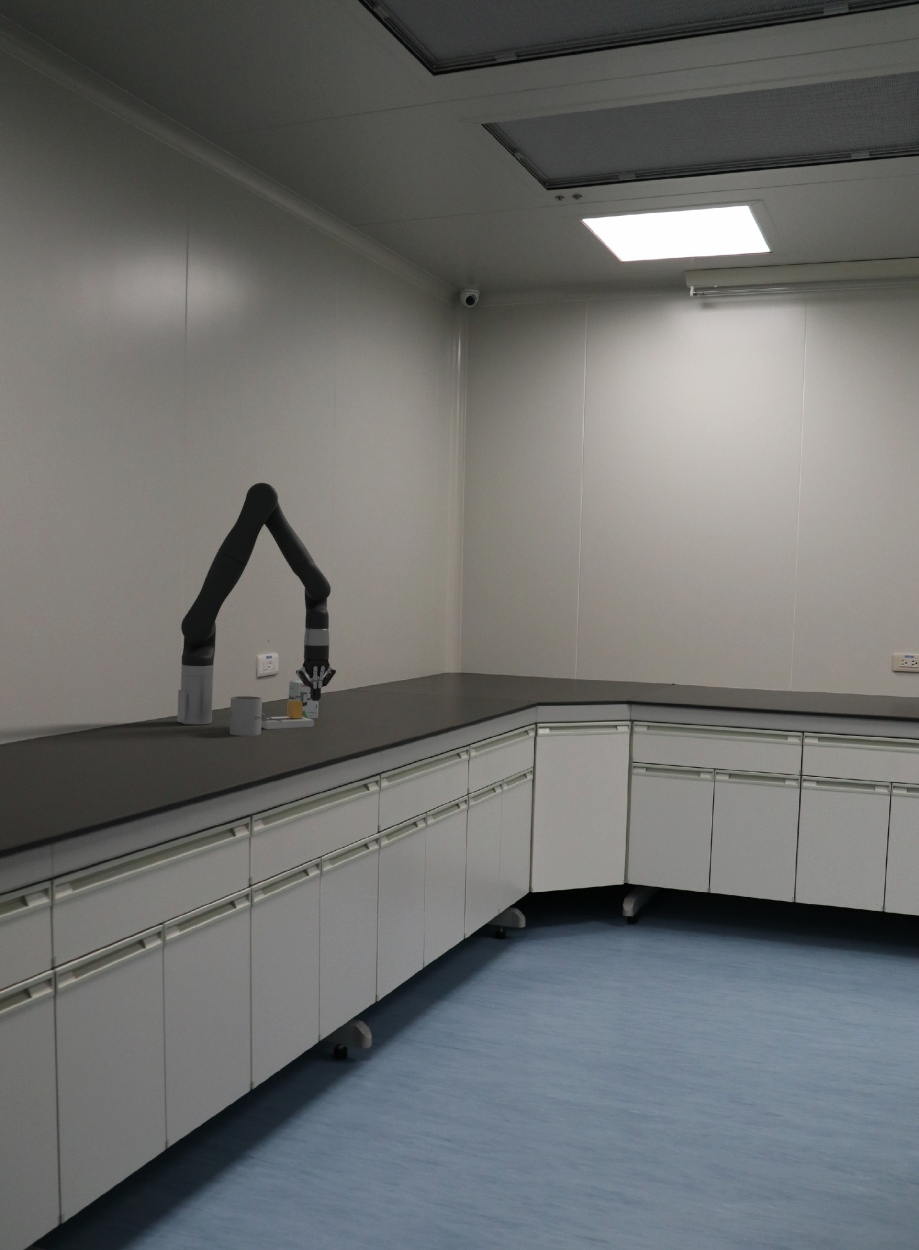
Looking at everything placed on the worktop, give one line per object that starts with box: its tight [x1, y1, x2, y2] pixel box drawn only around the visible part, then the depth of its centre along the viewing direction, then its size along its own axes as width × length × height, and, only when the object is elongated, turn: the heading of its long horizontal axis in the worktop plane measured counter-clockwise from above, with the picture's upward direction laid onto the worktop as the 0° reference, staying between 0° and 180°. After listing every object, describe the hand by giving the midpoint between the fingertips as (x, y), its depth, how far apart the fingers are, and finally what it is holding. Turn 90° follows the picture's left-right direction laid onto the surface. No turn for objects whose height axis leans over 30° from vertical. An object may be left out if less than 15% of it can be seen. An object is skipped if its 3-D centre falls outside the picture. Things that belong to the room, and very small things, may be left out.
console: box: [261, 712, 315, 730], centre depth 311 cm, size 15×10×4 cm, turn 124°
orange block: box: [286, 700, 302, 718], centre depth 313 cm, size 3×4×5 cm
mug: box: [229, 695, 263, 737], centre depth 295 cm, size 12×9×10 cm
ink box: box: [288, 679, 320, 720], centre depth 329 cm, size 9×5×12 cm, turn 135°
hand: (315, 700), depth 316 cm, fingers closed
